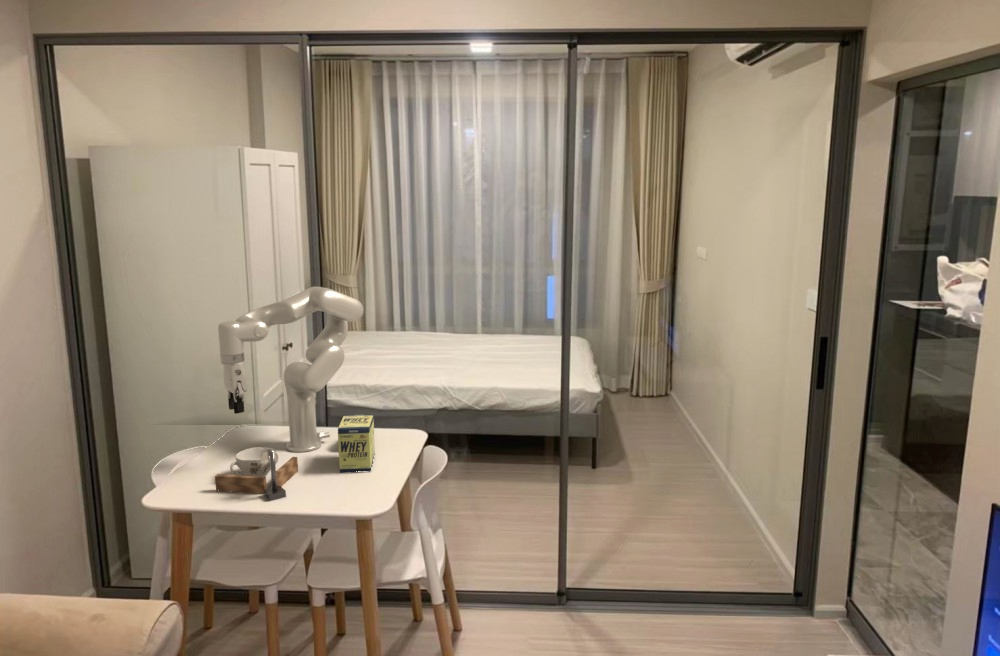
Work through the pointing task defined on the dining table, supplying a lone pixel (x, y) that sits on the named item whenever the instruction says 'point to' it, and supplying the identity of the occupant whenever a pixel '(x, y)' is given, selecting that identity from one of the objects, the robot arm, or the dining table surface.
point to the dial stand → (272, 476)
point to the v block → (255, 479)
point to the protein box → (356, 443)
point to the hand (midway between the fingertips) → (236, 410)
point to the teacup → (251, 462)
